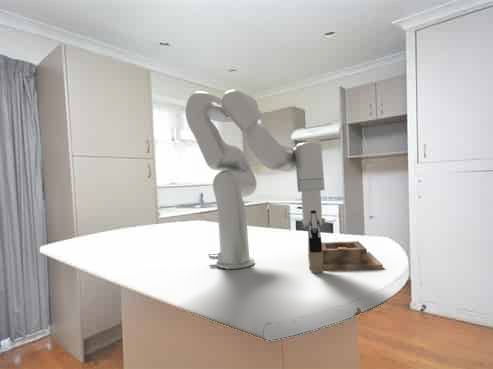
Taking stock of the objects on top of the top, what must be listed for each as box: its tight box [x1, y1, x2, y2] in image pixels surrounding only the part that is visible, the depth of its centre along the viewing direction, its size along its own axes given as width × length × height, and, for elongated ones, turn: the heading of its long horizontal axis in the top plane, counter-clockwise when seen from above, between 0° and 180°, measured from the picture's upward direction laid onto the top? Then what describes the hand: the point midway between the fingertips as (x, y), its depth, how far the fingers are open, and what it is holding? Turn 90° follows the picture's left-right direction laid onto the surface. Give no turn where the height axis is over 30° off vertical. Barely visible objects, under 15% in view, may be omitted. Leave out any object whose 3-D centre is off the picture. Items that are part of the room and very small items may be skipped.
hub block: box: [307, 240, 384, 271], centre depth 90 cm, size 20×16×6 cm
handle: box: [301, 217, 326, 274], centre depth 82 cm, size 5×6×15 cm
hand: (315, 249), depth 82 cm, fingers open, 5 cm apart
